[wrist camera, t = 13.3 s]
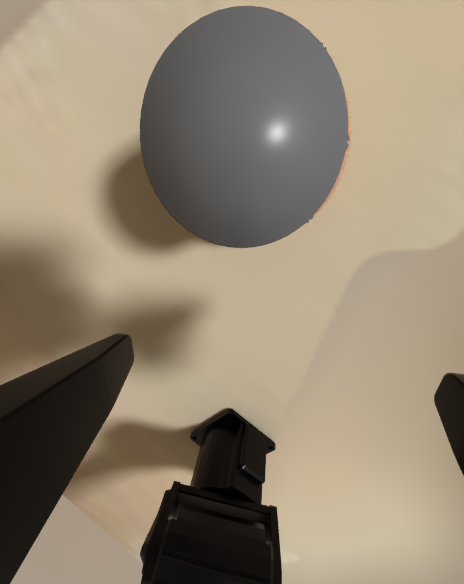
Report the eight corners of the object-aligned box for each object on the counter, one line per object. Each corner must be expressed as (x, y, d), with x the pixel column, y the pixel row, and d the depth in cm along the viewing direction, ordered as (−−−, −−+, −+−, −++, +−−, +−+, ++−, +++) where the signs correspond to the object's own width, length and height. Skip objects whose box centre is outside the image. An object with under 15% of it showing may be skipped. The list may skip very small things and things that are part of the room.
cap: (294, 27, 11) (305, -63, 6) (340, 186, 13) (372, 202, 9) (161, 114, 13) (100, 92, 8) (221, 238, 15) (198, 272, 11)
